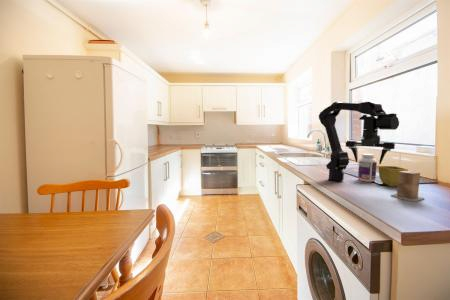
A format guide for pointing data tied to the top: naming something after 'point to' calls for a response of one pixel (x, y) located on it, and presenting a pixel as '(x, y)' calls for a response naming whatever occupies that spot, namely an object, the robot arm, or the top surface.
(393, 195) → the slate tile
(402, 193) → the walnut block
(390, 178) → the flower pot
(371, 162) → the pill bottle
